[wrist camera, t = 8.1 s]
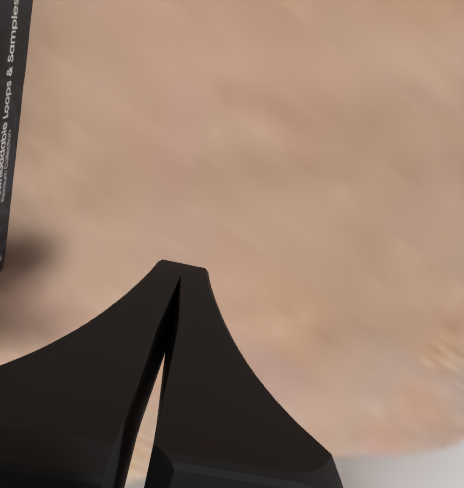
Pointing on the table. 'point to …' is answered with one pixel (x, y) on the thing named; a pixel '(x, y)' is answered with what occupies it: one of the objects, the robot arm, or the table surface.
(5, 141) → the box
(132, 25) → the table surface
